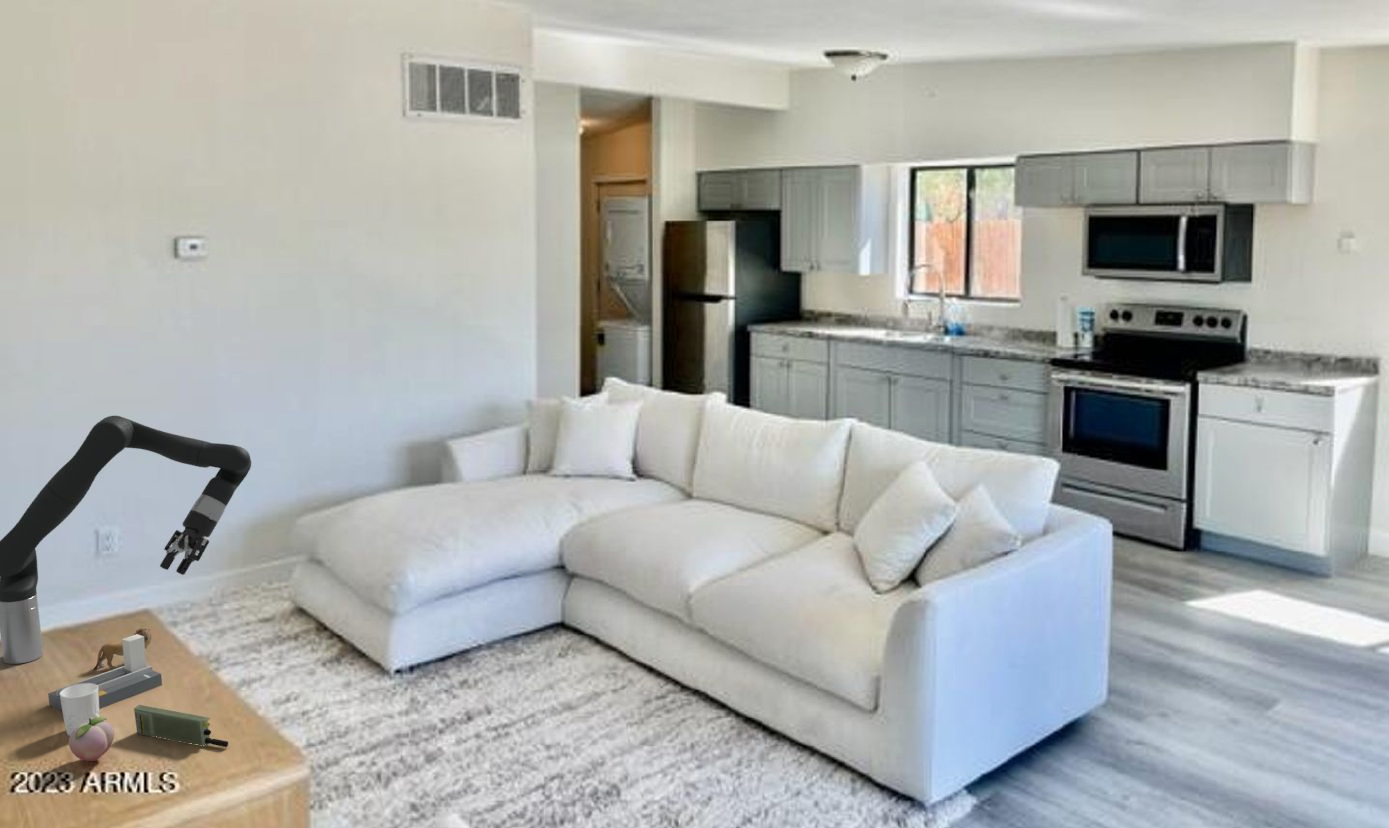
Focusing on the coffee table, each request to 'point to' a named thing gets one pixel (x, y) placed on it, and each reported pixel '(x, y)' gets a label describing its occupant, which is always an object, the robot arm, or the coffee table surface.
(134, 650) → the fader knob
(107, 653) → the lion figurine
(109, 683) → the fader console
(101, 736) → the decorative fruit
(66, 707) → the white cup
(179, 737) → the handheld radio
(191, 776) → the coffee table surface
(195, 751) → the coffee table surface
